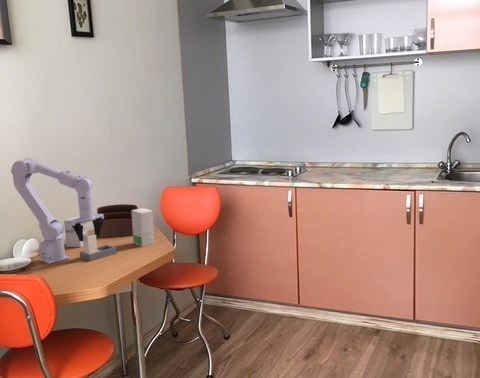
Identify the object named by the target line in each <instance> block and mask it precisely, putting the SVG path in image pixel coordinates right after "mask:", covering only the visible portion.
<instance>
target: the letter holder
mask: <svg viewBox="0 0 480 378" xmlns="http://www.w3.org/2000/svg"><path fill="white" fill-rule="evenodd" d="M136 209H139V207H138V205H136V204H125V203H124V204H121V203H120V204H112V205H111V204H110V205H105V206H104V205H103V206H100V207H97V209H96V213H97V214H104V219H102V220H103V224H102V226H101V230H100V235H99V237H96V239H103V238H106V239H107V238H117V237H119V238H120V237H129V236H132V237H133V227H132V211H131V210H136Z"/></svg>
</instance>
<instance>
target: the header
mask: <svg viewBox="0 0 480 378" xmlns="http://www.w3.org/2000/svg"><path fill="white" fill-rule="evenodd" d="M97 249H98V251H96V252H93V253H86V252H84V250H82V251H80V252H79V258H80V259H82V260H86V261H89V262H93V261H96V260H99V259H103V258H105V257H106V258H107V257H109V256H112V255H116V254H117V253H118V250H117V247H116V246H111V245H108V244H104V245H100V246H97Z"/></svg>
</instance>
